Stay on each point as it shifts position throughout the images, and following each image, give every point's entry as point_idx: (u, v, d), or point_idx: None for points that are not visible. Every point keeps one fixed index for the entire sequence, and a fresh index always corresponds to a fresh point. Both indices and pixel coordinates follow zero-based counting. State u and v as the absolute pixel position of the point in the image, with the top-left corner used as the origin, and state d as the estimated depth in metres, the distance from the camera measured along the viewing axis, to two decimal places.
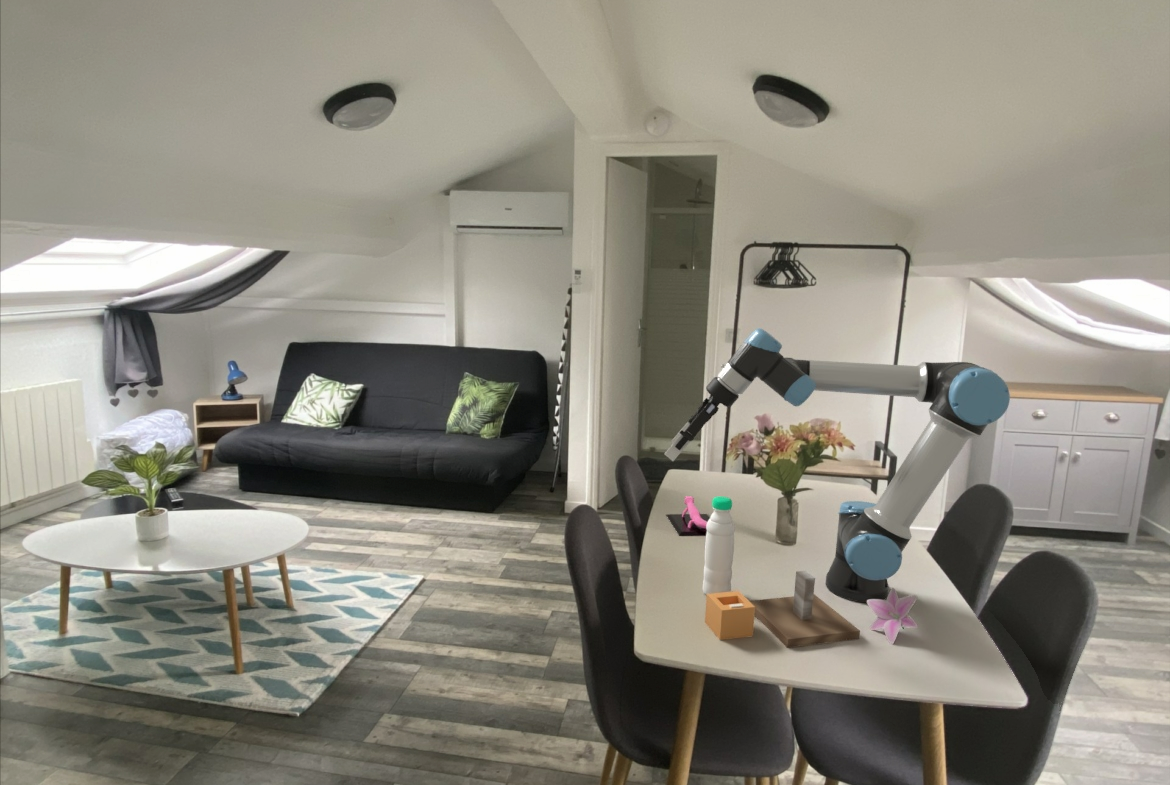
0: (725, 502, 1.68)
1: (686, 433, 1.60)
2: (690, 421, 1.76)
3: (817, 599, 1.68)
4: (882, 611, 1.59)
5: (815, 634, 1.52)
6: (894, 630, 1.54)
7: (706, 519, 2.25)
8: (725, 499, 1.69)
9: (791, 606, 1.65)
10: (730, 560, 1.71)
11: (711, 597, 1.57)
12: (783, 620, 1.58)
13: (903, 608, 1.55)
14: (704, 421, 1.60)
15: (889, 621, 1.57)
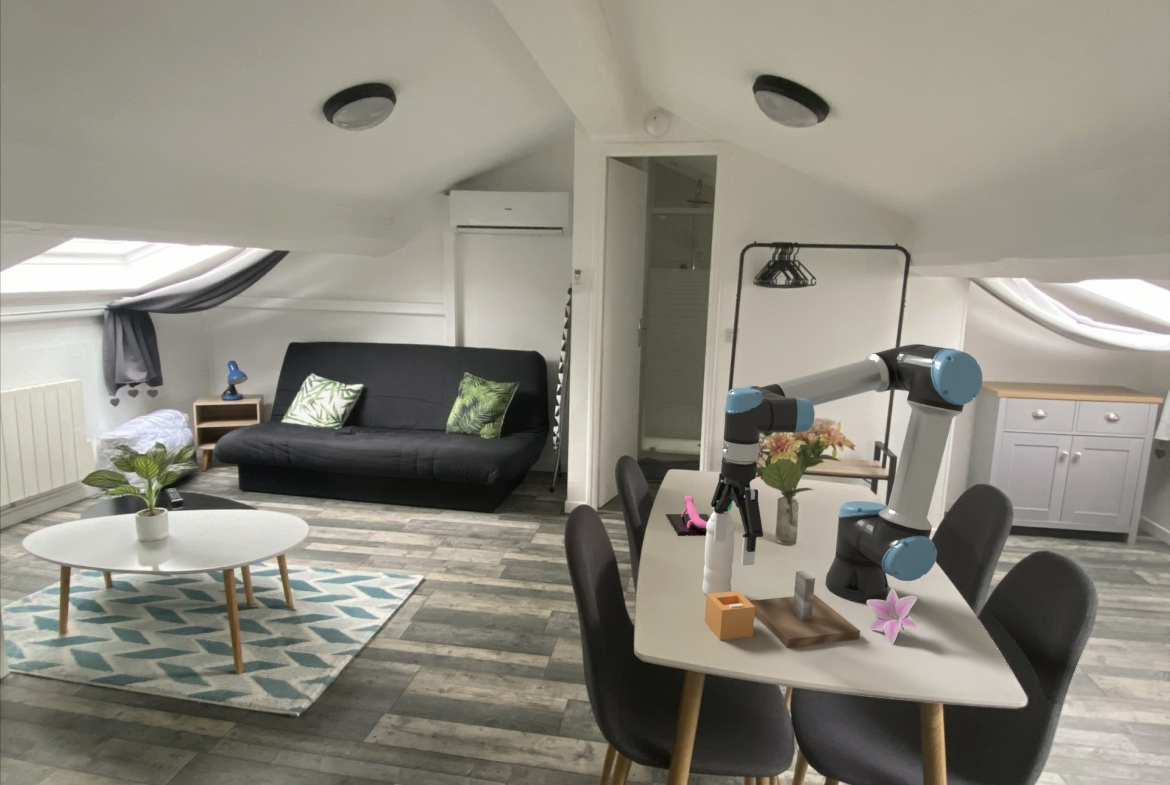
0: None
1: (754, 534, 1.43)
2: (718, 511, 1.59)
3: (817, 599, 1.68)
4: (882, 612, 1.59)
5: (815, 634, 1.52)
6: (894, 631, 1.54)
7: (705, 519, 2.25)
8: None
9: (791, 606, 1.65)
10: (730, 560, 1.71)
11: (711, 597, 1.57)
12: (783, 620, 1.58)
13: (903, 608, 1.55)
14: (757, 509, 1.45)
15: (889, 622, 1.57)
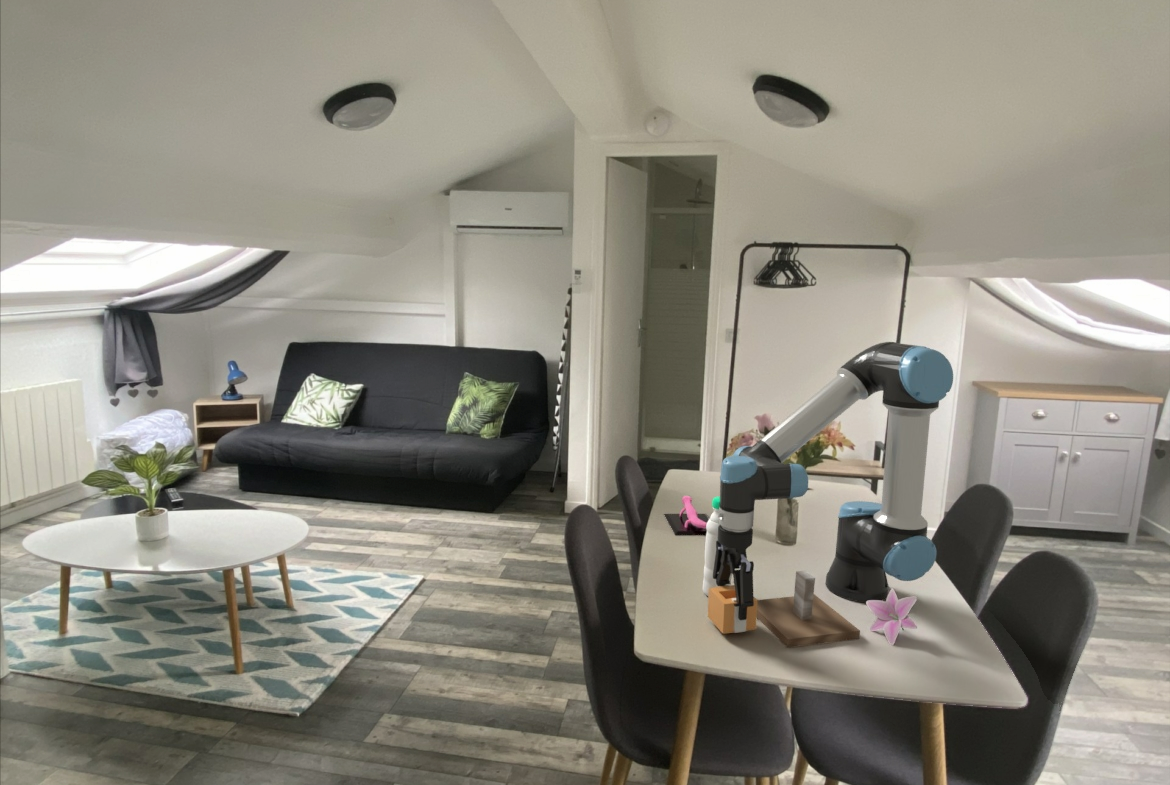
0: None
1: (745, 605, 1.48)
2: (719, 584, 1.60)
3: (817, 599, 1.68)
4: (881, 612, 1.58)
5: (815, 634, 1.52)
6: (894, 631, 1.53)
7: (703, 519, 2.25)
8: None
9: (791, 606, 1.65)
10: None
11: (713, 591, 1.57)
12: (783, 620, 1.58)
13: (903, 609, 1.55)
14: (751, 581, 1.48)
15: (888, 622, 1.57)
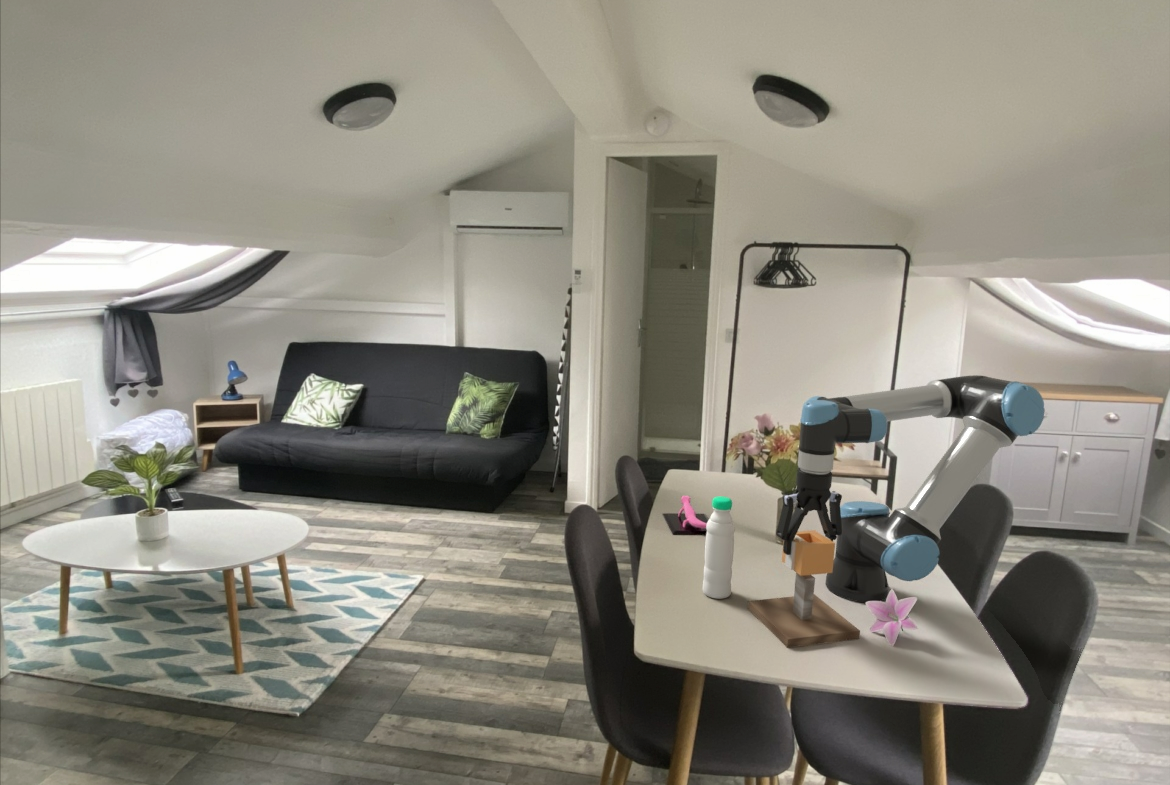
0: (725, 502, 1.68)
1: (777, 533, 1.56)
2: (824, 533, 1.59)
3: (817, 599, 1.68)
4: (881, 613, 1.58)
5: (815, 634, 1.52)
6: (894, 632, 1.53)
7: (702, 519, 2.25)
8: (725, 499, 1.69)
9: (791, 606, 1.65)
10: (730, 560, 1.71)
11: (808, 531, 1.61)
12: (783, 620, 1.58)
13: (902, 610, 1.55)
14: (785, 515, 1.54)
15: (888, 623, 1.56)
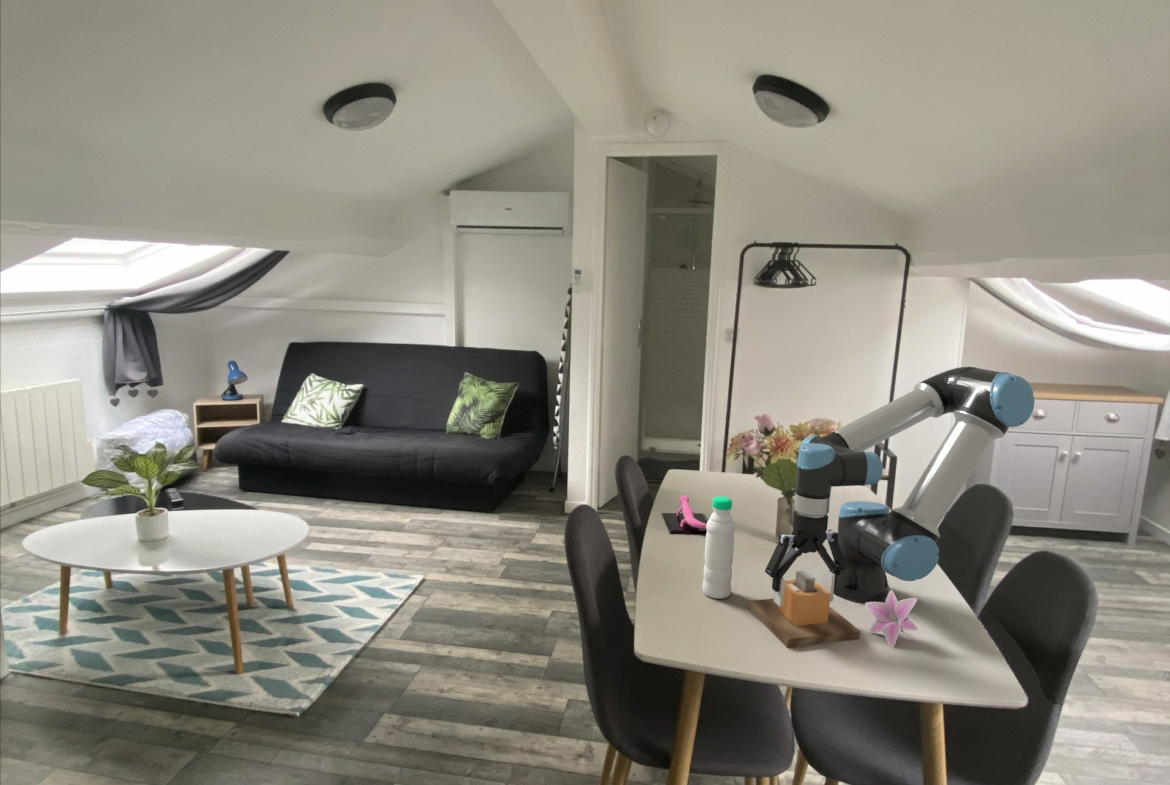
0: (725, 502, 1.68)
1: (766, 570, 1.57)
2: None
3: None
4: (881, 614, 1.57)
5: (815, 634, 1.52)
6: (894, 633, 1.53)
7: (700, 518, 2.25)
8: (725, 499, 1.69)
9: None
10: (730, 560, 1.71)
11: None
12: (783, 620, 1.58)
13: (902, 610, 1.54)
14: (779, 553, 1.55)
15: (888, 624, 1.56)
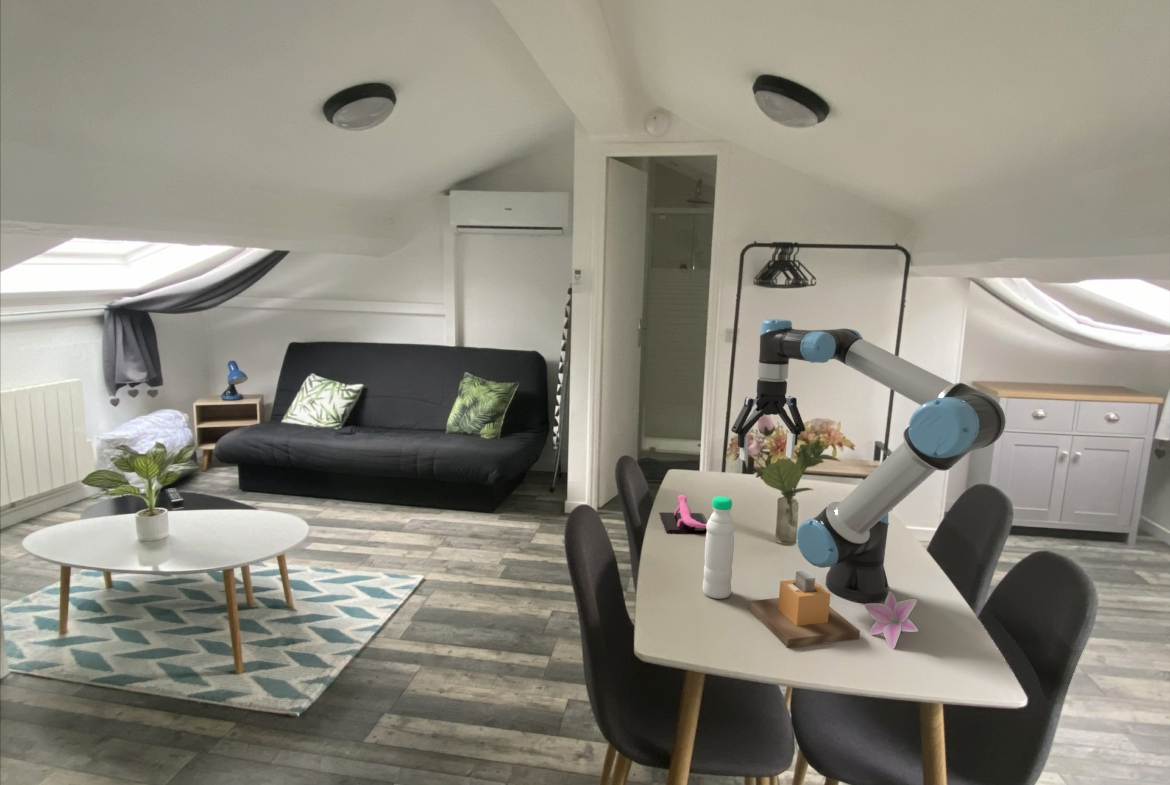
0: (725, 502, 1.68)
1: (732, 429, 1.80)
2: (790, 430, 1.84)
3: None
4: (880, 616, 1.57)
5: (815, 634, 1.52)
6: (894, 635, 1.52)
7: (698, 518, 2.26)
8: (725, 499, 1.69)
9: None
10: (730, 560, 1.71)
11: None
12: (783, 620, 1.58)
13: (902, 612, 1.54)
14: (743, 413, 1.78)
15: (888, 625, 1.55)
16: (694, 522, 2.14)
